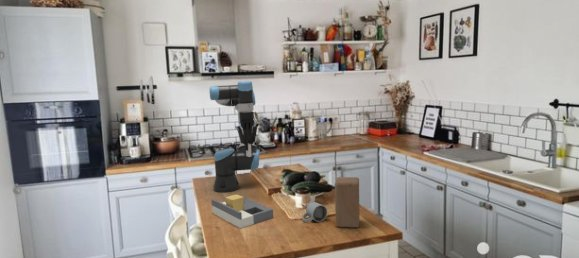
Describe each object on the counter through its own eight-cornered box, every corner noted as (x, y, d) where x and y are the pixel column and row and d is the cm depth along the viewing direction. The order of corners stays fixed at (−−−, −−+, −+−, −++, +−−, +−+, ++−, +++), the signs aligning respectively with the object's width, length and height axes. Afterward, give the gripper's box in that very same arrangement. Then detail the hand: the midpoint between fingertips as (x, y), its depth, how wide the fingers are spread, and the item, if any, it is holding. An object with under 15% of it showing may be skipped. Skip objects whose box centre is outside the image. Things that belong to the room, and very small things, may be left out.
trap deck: (243, 204, 200) (242, 191, 199) (273, 217, 180) (272, 203, 179) (212, 213, 189) (211, 199, 188) (240, 228, 169) (239, 213, 168)
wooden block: (359, 228, 164) (358, 183, 161) (335, 227, 166) (334, 182, 163) (359, 219, 173) (359, 176, 170) (337, 218, 175) (336, 176, 172)
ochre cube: (237, 206, 185) (236, 194, 184) (244, 209, 181) (243, 197, 180) (226, 209, 182) (225, 197, 181) (233, 212, 177) (232, 200, 176)
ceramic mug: (318, 214, 182) (318, 198, 180) (328, 220, 174) (327, 203, 173) (298, 219, 177) (298, 203, 176) (307, 225, 170) (306, 208, 168)
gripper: (239, 113, 190) (242, 159, 194) (261, 110, 198) (263, 155, 202) (231, 112, 196) (234, 157, 199) (252, 109, 204) (255, 153, 207)
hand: (248, 156), depth 201 cm, fingers closed
